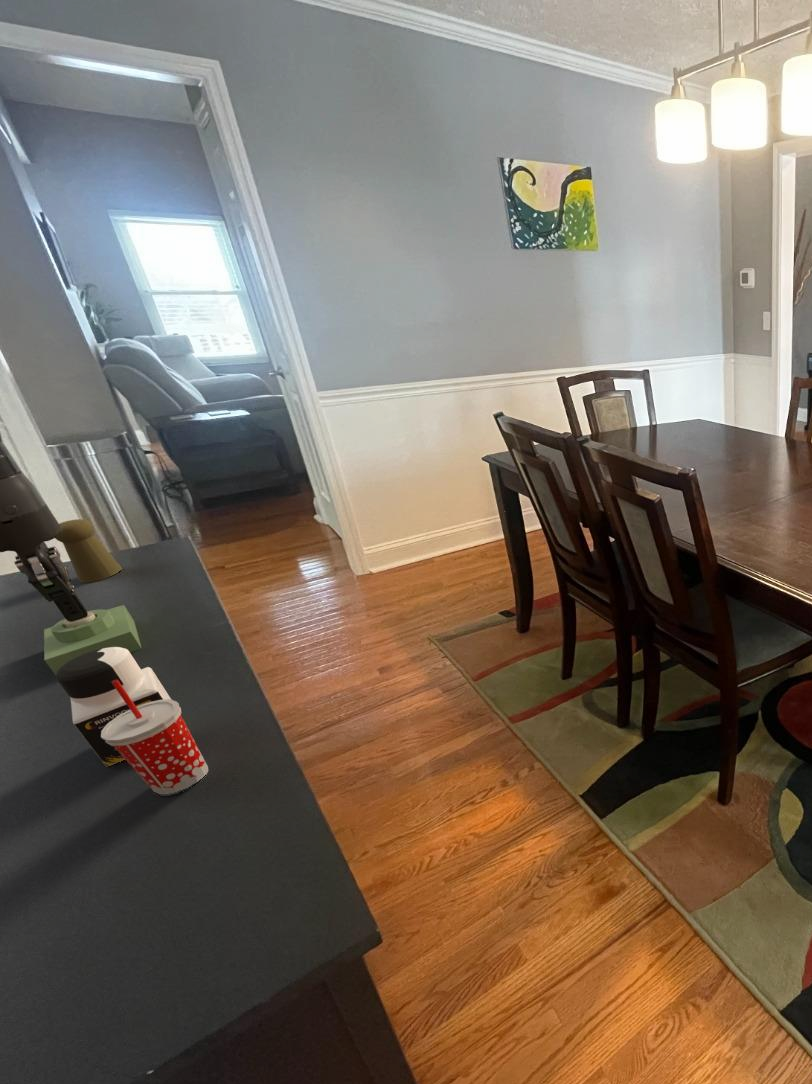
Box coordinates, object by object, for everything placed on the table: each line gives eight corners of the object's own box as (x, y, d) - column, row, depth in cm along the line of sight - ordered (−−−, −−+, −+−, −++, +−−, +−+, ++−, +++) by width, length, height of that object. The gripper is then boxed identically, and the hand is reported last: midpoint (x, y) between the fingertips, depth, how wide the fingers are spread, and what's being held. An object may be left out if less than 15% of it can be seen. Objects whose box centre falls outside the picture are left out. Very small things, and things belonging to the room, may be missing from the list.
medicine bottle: (107, 769, 68) (44, 687, 63) (102, 740, 73) (43, 661, 67) (186, 734, 73) (135, 655, 67) (178, 709, 77) (128, 632, 71)
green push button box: (141, 648, 90) (124, 621, 88) (57, 678, 84) (36, 649, 82) (134, 621, 97) (117, 595, 95) (56, 646, 92) (36, 619, 89)
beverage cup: (229, 755, 69) (169, 658, 63) (195, 797, 64) (126, 696, 57) (170, 763, 69) (103, 666, 62) (131, 806, 63) (53, 705, 57)
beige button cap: (101, 628, 89) (93, 616, 88) (71, 638, 87) (63, 626, 86) (100, 620, 91) (92, 609, 90) (70, 630, 89) (62, 618, 88)
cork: (75, 577, 112) (40, 524, 107) (118, 564, 117) (86, 513, 112) (83, 585, 109) (47, 531, 104) (126, 572, 114) (94, 519, 109)
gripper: (-34, 507, 82) (42, 613, 90) (-42, 532, 74) (42, 646, 82) (44, 491, 87) (109, 593, 95) (44, 512, 78) (116, 622, 87)
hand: (78, 617), depth 88 cm, fingers closed
